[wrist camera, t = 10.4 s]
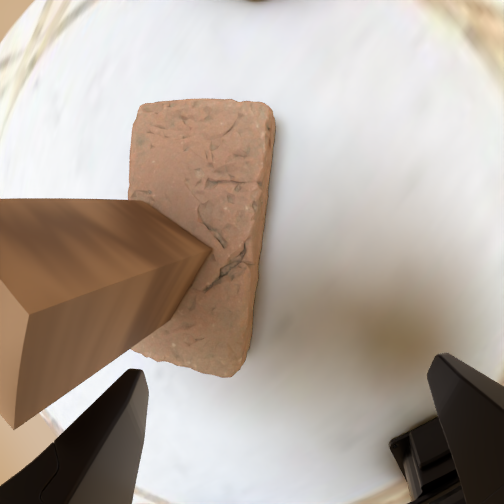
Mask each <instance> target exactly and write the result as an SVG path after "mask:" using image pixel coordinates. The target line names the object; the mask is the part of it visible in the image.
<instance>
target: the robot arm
mask: <svg viewBox="0 0 504 504" xmlns="http://www.w3.org/2000/svg"><path fill="white" fill-rule="evenodd" d="M427 379H428V383H429V386H430V390H431V393H432V397H433V400H434V404H435V408H436V411H437V415H438V417H437V418H435V419H433V420H432V421H430V422H428V423H426V424H424V425H422V426H420V427H418V428H416V429H414V430H412V431H410V432H408V433H406V434H404V435H402V436H400V437H398V438H396V439H393V440H392V441H391V442H390V443H389V446H390V450H391V452H392V454H393V455H394V457H395V459H396V461H397V463H398V465H399V467H400V469H401V471H402V473H403V475H404V477H405V479H406V481H407V483H408V487H409V492H410V496H411V501H412V502H410V503H408V504H504V387H503V386H502V385H500V384H499V383H497V382H495V381H494V380H492V379H490V378H489V377H487V376H485V375H484V374H482V373H480V372H479V371H477V370H475V369H474V368H472V367H470V366H469V365H467V364H465V363H464V362H462V361H460V360H459V359H457V358H455V357H454V356H452V355H450V354H449V353H442V354H437V355H436V356H435V358H434V360H433V362H432V364H431V366H430V368H429V370H428V373H427ZM148 397H149V390H148V386H147V382H146V379H145V375H144V372H143V370H141V369H128V370H127V371H126V372H125V373H124V374H123V375H122V376H120V377H119V378H118V379H117V380H116V381H115V382H114V383H113V384H112V385H111V386H110V387H109V388H108V389H107V390H106V391H105V392H104V393H103V394H102V395H101V396H100V397H99V398H98V399H97V400H96V401H95V402H94V403H93V404H92V405H91V406H90V407H89V408H88V409H86V410H85V411H84V412H83V413H82V414H81V415H80V416H79V417H78V418H77V419H76V420H75V421H74V422H73V423H72V424H71V425H70V426H69V427H68V428H67V429H66V430H65V431H64V432H63V433H62V434H61V435H60V436H59V437H58V438H57V439H56V440H55V441H54V443H51V444H50V445H49V446H48V447H47V448H46V449H45V450H44V451H43V452H42V453H41V454H40V455H39V456H38V457H37V458H35V459H34V460H33V461H32V462H31V463H29V464H28V465H27V466H26V467H25V468H23V469H22V470H21V471H19V472H18V473H17V474H15V475H14V476H13V477H11V478H10V479H9V480H8V481H6V482H5V483H3V484H2V485H1V486H0V504H132V499H133V494H134V489H135V484H136V478H137V473H138V468H139V463H140V459H141V454H142V449H143V444H144V437H145V427H146V416H147V406H148ZM395 444H397V445H395Z"/></svg>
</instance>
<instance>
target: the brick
mask: <svg viewBox="0 0 504 504" xmlns="http://www.w3.org/2000/svg"><path fill="white" fill-rule="evenodd" d="M274 136H275V118H274V116H273V111H272V109H271V108H270V107H269V106H268V105H266V104H265V103H262V102H251V101H243V102H237V101H235V100H232V99H225V100H224V99H185V100H173V101H162V102H155V103H145V104H143V105H141V106H140V107H139V110H138V113H137V117H136V120H135V121H134V123H133V128H132V137H131V148H130V167H129V184H130V185H129V189H128V200H140V201H144V202H145V203H147V204H148V205H150V206H151V207H153V208H154V209H155V210H157V211H158V212H160V213H161V214H162V215H164V216H165V217H167V218H168V219H170V220H171V221H172V222H174V223H175V224H177V225H178V226H180V227H181V228H182V229H184V230H185V231H187V232H188V233H190V234H191V235H192V236H194V237H195V238H197V239H198V240H200V241H201V242H202V243H204V244H205V245H207V246H208V247H210V248H211V249H212V250H211V251H210V253H209V255H208V256H207V258H206V260H205V261H204V263H203V265H202V266H201V268H200V270H199V271H198V273H197V275H196V277H195V278H194V280H193V282H192V283H191V285H190V287H189V288H188V290H187V292H186V294H185V295H184V297H183V299H182V301H181V302H180V304H179V306H178V307H177V309H176V311H175V313H174V314H173V316H172V318H171V320H170V321H168V322H167V323H165V324H164V325H163V326H161V327H160V328H158V329H157V330H156V331H154V332H153V333H151V334H150V335H149V336H147V337H146V338H144V339H143V340H142V341H140V342H139V343H137V344H136V345H134V346H133V347H132V348H130V349H131V350H133V351H135V352H138V353H141V354H142V355H144V356H145V357H150V358H152V359H154V360H155V361H157V362H160V361H166V362H170V363H173V364H175V365H177V366H183V367H189V368H192V369H193V370H196V371H198V372H201V373H204V374H212V375H216V376H219V377H222V378H224V377H232V376H233V375H234V374H235V373H236V372H237V371H239V370H240V368H241V366H242V365H243V363H244V362H245V360H246V354H247V350H248V349H249V346H250V340H251V336H252V323H253V306H254V298H255V291H256V286H257V283H258V279H259V273H258V263H259V256H260V252H261V249H262V236H263V230H264V224H265V215H266V205H267V199H268V185H269V176H270V171H271V163H272V153H273V144H274V140H275V139H274Z"/></svg>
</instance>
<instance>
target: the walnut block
mask: <svg viewBox="0 0 504 504" xmlns="http://www.w3.org/2000/svg"><path fill="white" fill-rule="evenodd" d="M211 250H212V249H211V248H210V247H208V246H207V245H205V244H204V243H202V242H201V241H200V240H198V239H197V238H195V237H194V236H192V235H191V234H190V233H188V232H187V231H185V230H184V229H182V228H181V227H180V226H178V225H177V224H175V223H174V222H172V221H171V220H170V219H168V218H167V217H165V216H164V215H162V214H161V213H160V212H158V211H157V210H155V209H154V208H153V207H151V206H150V205H148V204H147V203H145V202H144V201H140V200H110V199H0V414H1V416H2V417H3V418H4V419H5V420H6V422H7V423H8V424H9V425H10V426H11V427H12V428H13V430H14V429H16V428H18V427H19V426H21V425H22V424H24V423H25V422H26V421H28V420H29V419H31V418H32V417H34V416H35V415H36V414H38V413H39V412H41V411H42V410H44V409H45V408H47V407H48V406H49V405H51V404H52V403H54V402H55V401H57V400H58V399H59V398H61V397H62V396H64V395H65V394H67V393H68V392H69V391H71V390H72V389H74V388H75V387H76V386H78V385H79V384H81V383H82V382H84V381H85V380H86V379H88V378H89V377H91V376H92V375H94V374H95V373H96V372H98V371H99V370H101V369H102V368H103V367H105V366H106V365H108V364H109V363H111V362H112V361H113V360H115V359H116V358H118V357H119V356H120V355H122V354H123V353H125V352H126V351H127V350H129V349H130V348H132V347H133V346H134V345H136V344H137V343H139V342H140V341H142V340H143V339H144V338H146V337H147V336H149V335H150V334H151V333H153V332H154V331H156V330H157V329H158V328H160V327H161V326H163V325H164V324H165V323H167V322H168V321H170V320H171V318H172V316H173V314H174V313H175V311H176V309H177V307H178V306H179V304H180V302H181V301H182V299H183V297H184V295H185V294H186V292H187V290H188V288H189V287H190V285H191V283H192V282H193V280H194V278H195V277H196V275H197V273H198V271H199V270H200V268H201V266H202V265H203V263H204V261H205V260H206V258H207V256H208V255H209V253H210V251H211Z"/></svg>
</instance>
